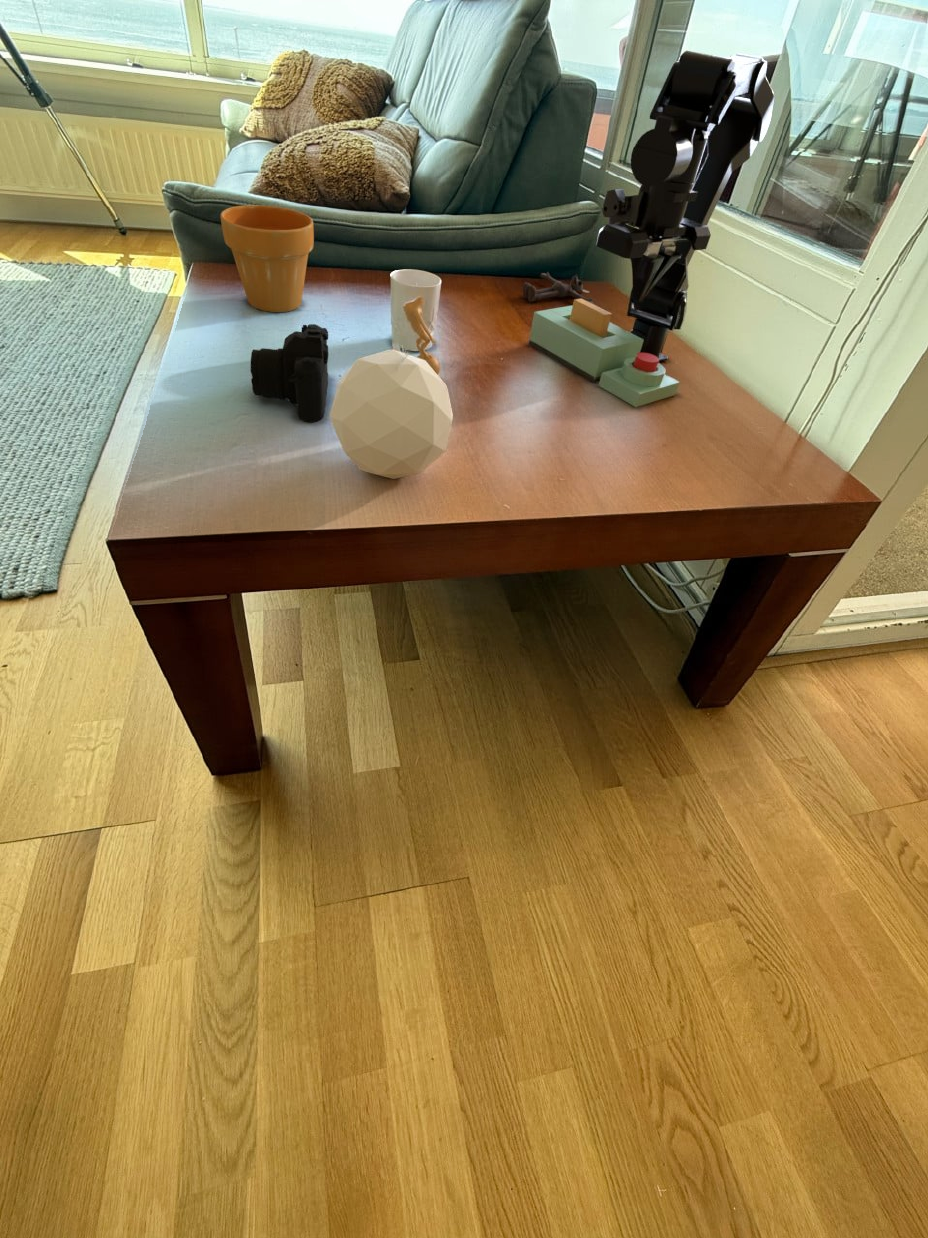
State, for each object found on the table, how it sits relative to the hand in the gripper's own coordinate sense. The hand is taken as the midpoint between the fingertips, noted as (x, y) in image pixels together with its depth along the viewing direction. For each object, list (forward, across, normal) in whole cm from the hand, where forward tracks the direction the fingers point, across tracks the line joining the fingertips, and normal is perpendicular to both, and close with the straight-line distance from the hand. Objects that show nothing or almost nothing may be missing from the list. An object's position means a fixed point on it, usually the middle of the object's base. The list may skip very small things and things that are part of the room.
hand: (636, 300), depth 96 cm
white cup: (+12, +24, -24) cm, 36 cm away
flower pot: (+12, +37, -47) cm, 61 cm away
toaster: (+12, 0, -8) cm, 14 cm away
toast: (+11, 0, -8) cm, 14 cm away
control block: (+12, 0, +5) cm, 13 cm away
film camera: (+12, +50, -15) cm, 54 cm away
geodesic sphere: (+12, +48, +6) cm, 50 cm away
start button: (+8, 0, +5) cm, 10 cm away
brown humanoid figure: (+12, -17, -32) cm, 38 cm away
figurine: (+12, +31, -12) cm, 35 cm away
